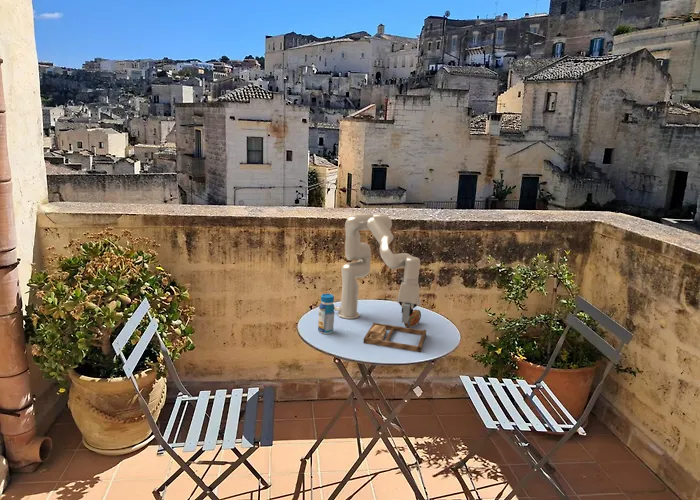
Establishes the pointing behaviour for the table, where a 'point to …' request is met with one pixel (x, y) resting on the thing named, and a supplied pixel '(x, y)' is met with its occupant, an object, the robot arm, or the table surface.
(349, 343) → the table surface
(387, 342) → the rack
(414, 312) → the tin
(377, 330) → the offcut stack
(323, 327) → the beverage bottle
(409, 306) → the grey rectangular block
